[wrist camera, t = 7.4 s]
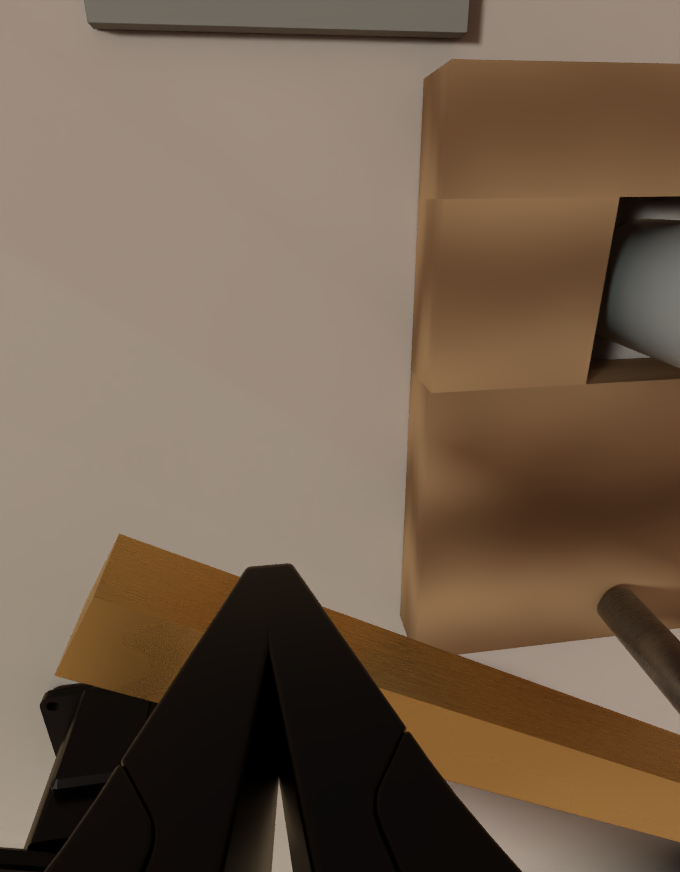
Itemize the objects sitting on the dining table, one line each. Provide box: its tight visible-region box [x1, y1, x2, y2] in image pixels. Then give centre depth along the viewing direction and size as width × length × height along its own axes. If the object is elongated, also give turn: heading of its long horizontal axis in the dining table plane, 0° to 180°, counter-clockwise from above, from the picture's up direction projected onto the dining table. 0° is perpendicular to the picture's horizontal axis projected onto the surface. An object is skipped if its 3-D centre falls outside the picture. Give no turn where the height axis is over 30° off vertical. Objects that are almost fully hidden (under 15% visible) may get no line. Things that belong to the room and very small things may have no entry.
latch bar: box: [55, 534, 680, 842], centre depth 15 cm, size 19×2×9 cm, turn 60°
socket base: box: [400, 59, 680, 655], centre depth 20 cm, size 20×16×2 cm
